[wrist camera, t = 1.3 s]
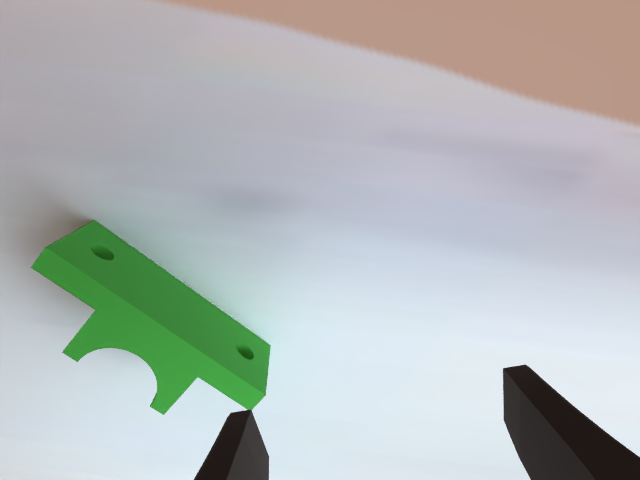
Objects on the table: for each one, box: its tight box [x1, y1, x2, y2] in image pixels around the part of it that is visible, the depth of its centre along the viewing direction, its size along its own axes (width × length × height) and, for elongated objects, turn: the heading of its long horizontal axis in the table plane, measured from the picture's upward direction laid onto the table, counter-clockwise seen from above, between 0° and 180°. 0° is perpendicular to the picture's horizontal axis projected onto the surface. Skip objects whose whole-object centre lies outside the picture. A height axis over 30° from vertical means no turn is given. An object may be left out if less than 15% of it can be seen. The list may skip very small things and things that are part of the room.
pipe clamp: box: [31, 220, 270, 415], centre depth 21 cm, size 11×4×5 cm, turn 49°
